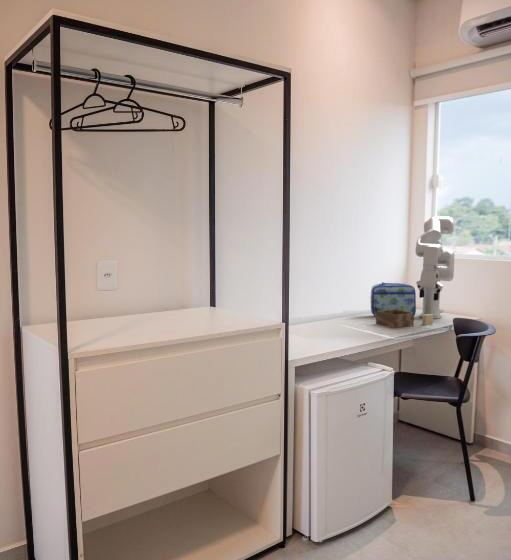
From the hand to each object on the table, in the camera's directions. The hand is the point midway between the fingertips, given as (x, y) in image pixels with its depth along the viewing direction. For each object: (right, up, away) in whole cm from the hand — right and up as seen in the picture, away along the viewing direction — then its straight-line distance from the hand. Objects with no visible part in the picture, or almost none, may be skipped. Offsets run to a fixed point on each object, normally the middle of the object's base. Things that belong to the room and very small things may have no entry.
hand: (428, 298), depth 289 cm
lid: (0, -16, +1) cm, 16 cm away
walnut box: (-19, -15, -1) cm, 24 cm away
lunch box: (-14, -12, +26) cm, 31 cm away
